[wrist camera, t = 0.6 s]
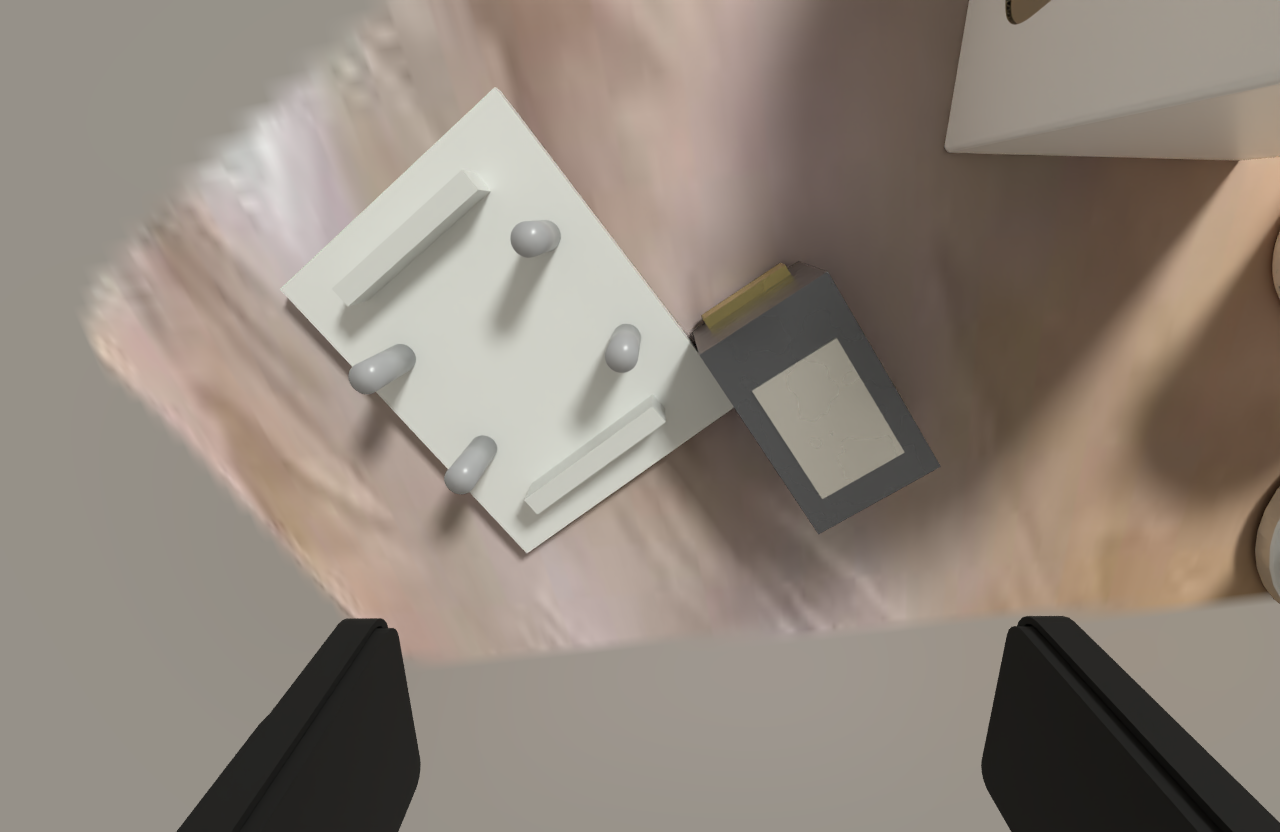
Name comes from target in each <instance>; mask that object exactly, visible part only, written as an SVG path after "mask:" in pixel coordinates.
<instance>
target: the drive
mask: <svg viewBox="0 0 1280 832" xmlns="http://www.w3.org/2000/svg"><path fill="white" fill-rule="evenodd" d="M701 316H702V318H703V320H704V322H705V324H703V325H702V326H700V327H698V328H697V329H695V330H694V331H693V335H694V338H695V342H696V345H697V349H698V352H699V355H700V357H701V358H702V360H703V361H704V363H705V364H706V366H707V367H708V369H709V370H710V372H711V373H712V375H713V376H714V378H715V379H716V381H717V382H718V384H719V385H720V387H721V388H722V390H723V391H724V393H725V394H726V396H727V397H728V399H729V400H730V402H731V403H732V405H733V406H734V408H735V409H736V411H737V412H738V414H739V415H740V417H741V418H742V420H743V421H744V423H745V425H746V426H747V428H748V429H749V431H750V432H751V434H752V435H753V437H754V438H755V440H756V441H757V443H758V444H759V446H760V447H761V449H762V450H763V452H764V453H765V455H766V456H767V458H768V459H769V461H770V462H771V464H772V465H773V467H774V468H775V470H776V471H777V473H778V474H779V476H780V477H781V479H782V480H783V482H784V483H785V485H786V486H787V488H788V489H789V491H790V492H791V494H792V495H793V497H794V498H795V500H796V501H797V503H798V504H799V506H800V507H801V509H802V510H803V512H804V513H805V515H806V516H807V518H808V519H809V521H810V522H811V524H812V525H813V527H814V528H815V530H816V531H817V533H818V534H820V533H822V532H824V531H825V530H827V529H829V528H831V527H833V526H834V525H836V524H838V523H840V522H842V521H843V520H845V519H847V518H849V517H851V516H852V515H854V514H856V513H858V512H860V511H861V510H863V509H865V508H867V507H869V506H870V505H872V504H874V503H876V502H878V501H879V500H881V499H883V498H885V497H887V496H888V495H890V494H892V493H894V492H896V491H897V490H899V489H901V488H903V487H905V486H907V485H908V484H910V483H912V482H914V481H916V480H917V479H919V478H921V477H923V476H925V475H926V474H928V473H930V472H932V471H934V470H935V469H937V468H939V467H941V466H940V464H939V463H938V461H937V459H936V457H935V456H934V454H933V452H932V451H931V449H930V447H929V445H928V444H927V442H926V440H925V439H924V437H923V435H922V433H921V432H920V430H919V428H918V426H917V425H916V423H915V421H914V420H913V418H912V416H911V414H910V413H909V411H908V409H907V407H906V406H905V404H904V402H903V401H902V399H901V397H900V395H899V394H898V392H897V390H896V388H895V387H894V385H893V383H892V382H891V380H890V378H889V376H888V375H887V373H886V371H885V369H884V368H883V366H882V364H881V363H880V361H879V359H878V357H877V356H876V354H875V352H874V351H873V349H872V347H871V345H870V344H869V342H868V340H867V338H866V337H865V335H864V333H863V332H862V330H861V328H860V326H859V325H858V323H857V321H856V319H855V318H854V316H853V314H852V313H851V311H850V309H849V307H848V306H847V304H846V302H845V300H844V299H843V297H842V295H841V294H840V292H839V290H838V288H837V287H836V285H835V283H834V281H833V280H832V278H831V276H830V275H829V273H828V271H825V270H822V269H819V268H816V267H813V266H810V265H807V264H805V263H802V262H799V261H798V262H797V263H795V264H794V265H792V266H791V267H789V268H788V269H787V267H786V265H784V264H782V263H779V264H778V265H776V266H775V267H773V268H772V269H770V270H769V271H767V272H766V273H764V274H763V275H761V276H760V277H758V278H757V279H755V280H754V281H752V282H751V283H749V284H748V285H746V286H745V287H743V288H742V289H740V290H739V291H737V292H736V293H734V294H733V295H731V296H730V297H728V298H727V299H725V300H724V301H722V302H721V303H719V304H718V305H716V306H715V307H713V308H712V309H710V310H709V311H707V312H706V313H704V314H703V315H701Z"/></svg>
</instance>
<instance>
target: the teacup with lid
mask: <svg viewBox="0 0 1280 832" xmlns="http://www.w3.org/2000/svg"><path fill="white" fill-rule="evenodd" d="M1272 274H1273V281H1274V285H1275V289H1276V292H1277V294H1278V297H1279V299H1280V232H1279V234H1278V237H1277V240H1276V244H1275V248H1274V253H1273V261H1272Z"/></svg>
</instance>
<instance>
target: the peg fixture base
mask: <svg viewBox="0 0 1280 832" xmlns="http://www.w3.org/2000/svg"><path fill="white" fill-rule="evenodd" d="M280 290H281V291H282V292H283V293H284V294H285V295H286V296H287V297H288V299H289V300H290V301H291V302H292V303H293V304H294V305H295V306H296V307H297V308H298V309H299V310H300V311H301V312H302V314H303V315H304V316H305V317H306V318H307V319H308V320H309V321H310V322H311V323H312V324H313V325H314V326H315V327H316V328H317V330H318V331H319V332H320V333H321V334H322V335H323V336H324V337H325V338H326V339H327V340H328V341H329V342H330V343H331V345H332V346H333V347H334V348H335V349H336V350H337V351H338V352H339V353H340V354H341V355H342V356H343V357H344V358H345V360H346V361H347V362H348V363H349V364H350V365H351V366H352V368H351V369H350V371H349V381H350V384H351V385H352V387H353V388H354V389H355V390H356V391H358V392H360V393H362V394H372V393H374V392H376V393H377V394H378V395H379V396H380V397H381V398H382V399H383V400H384V401H385V402H386V403H387V404H388V406H389V407H390V408H391V409H392V410H393V411H394V412H395V413H396V414H397V415H398V416H399V417H400V418H401V419H402V420H403V422H404V423H405V424H406V425H407V426H408V427H409V428H410V429H411V430H412V431H413V432H414V433H415V434H416V435H417V437H418V438H419V439H420V440H421V441H422V442H423V443H424V444H425V445H426V446H427V447H428V448H429V449H430V450H431V452H432V453H433V454H434V455H435V456H436V457H437V458H438V459H439V460H440V461H441V462H442V463H443V464H444V465H445V466H446V468H447V469H448V470H447V472H446V473H445V477H444V481H445V484H446V486H447V487H448V489H449V490H451V491H452V492H454V493H456V494H466V493H469V492H470V493H471V494H472V495H473V496H474V498H475V499H476V500H477V501H478V502H479V503H480V504H481V505H482V506H483V507H484V508H485V509H486V510H487V511H488V512H489V514H490V515H491V516H492V517H493V518H494V519H495V520H496V521H497V522H498V523H499V524H500V525H501V526H502V527H503V529H504V530H505V531H506V532H507V533H508V534H509V535H510V536H511V537H512V538H513V539H514V540H515V541H516V542H517V543H518V545H519V546H520V547H521V548H522V549H523V550H524V551H525V552H526V553H528V552H530V551H531V550H533V549H534V548H535V547H537V546H538V545H540V544H541V543H542V542H544V541H545V540H547V539H548V538H550V537H551V536H552V535H554V534H555V533H557V532H558V531H559V530H561V529H562V528H564V527H565V526H567V525H568V524H569V523H571V522H572V521H574V520H575V519H576V518H578V517H579V516H581V515H582V514H584V513H585V512H586V511H588V510H589V509H591V508H592V507H593V506H595V505H596V504H598V503H599V502H601V501H602V500H603V499H605V498H606V497H608V496H609V495H611V494H612V493H613V492H615V491H616V490H618V489H619V488H620V487H622V486H623V485H625V484H626V483H628V482H629V481H630V480H632V479H633V478H635V477H636V476H637V475H639V474H640V473H642V472H643V471H645V470H646V469H647V468H649V467H650V466H652V465H653V464H654V463H656V462H657V461H659V460H660V459H662V458H663V457H664V456H666V455H667V454H669V453H670V452H671V451H673V450H674V449H676V448H677V447H679V446H680V445H681V444H683V443H684V442H686V441H687V440H689V439H690V438H691V437H693V436H694V435H696V434H697V433H698V432H700V431H701V430H703V429H704V428H706V427H707V426H708V425H710V424H711V423H713V422H714V421H715V420H717V419H718V418H720V417H721V416H723V415H724V414H725V413H727V412H728V411H730V410H731V409H732V408H734V406H733V405H732V403H731V402H730V400H729V399H728V397H727V396H726V394H725V393H724V391H723V390H722V388H721V387H720V385H719V384H718V382H717V381H716V379H715V378H714V376H713V375H712V373H711V372H710V370H709V369H708V367H707V366H706V364H705V363H704V361H703V360H702V358H701V357H700V355H699V352H698V349H697V348H696V347H695V345H694V344H693V343H692V341H691V340H690V339H689V338H688V336H687V335H686V334H685V332H684V331H683V330H682V328H681V327H680V326H679V324H678V323H677V322H676V320H675V319H674V318H673V317H672V315H671V314H670V313H669V311H668V310H667V309H666V307H665V306H664V305H663V303H662V302H661V301H660V299H659V298H658V297H657V296H656V294H655V293H654V292H653V290H652V289H651V288H650V286H649V285H648V284H647V282H646V281H645V280H644V278H643V277H642V276H641V274H640V273H639V272H638V271H637V269H636V268H635V267H634V265H633V264H632V263H631V261H630V260H629V259H628V257H627V256H626V255H625V253H624V252H623V251H622V250H621V248H620V247H619V246H618V244H617V243H616V242H615V240H614V239H613V238H612V236H611V235H610V234H609V232H608V231H607V230H606V229H605V227H604V226H603V225H602V223H601V222H600V221H599V219H598V218H597V217H596V215H595V214H594V213H593V211H592V210H591V209H590V207H589V206H588V205H587V204H586V202H585V201H584V200H583V198H582V197H581V196H580V194H579V193H578V192H577V190H576V189H575V188H574V186H573V185H572V184H571V183H570V181H569V180H568V179H567V177H566V176H565V175H564V173H563V172H562V171H561V169H560V168H559V167H558V165H557V164H556V163H555V162H554V160H553V159H552V158H551V156H550V155H549V154H548V152H547V151H546V150H545V148H544V147H543V146H542V144H541V143H540V142H539V140H538V139H537V138H536V137H535V135H534V134H533V133H532V131H531V130H530V129H529V127H528V126H527V125H526V123H525V122H524V121H523V119H522V118H521V117H520V116H519V114H518V113H517V112H516V110H515V109H514V108H513V106H512V105H511V104H510V102H509V101H508V100H507V98H506V97H505V96H504V95H503V93H502V92H501V91H500V90H499V89H497V88H496V87H495V88H493V89H492V90H491V91H490V92H489V93H488V94H487V95H486V96H485V97H484V98H483V99H482V100H481V101H480V102H479V103H477V104H476V105H475V106H474V107H473V108H472V109H471V110H470V111H469V112H468V113H467V114H466V115H465V116H464V117H463V118H462V119H460V120H459V121H458V122H457V123H456V124H455V125H454V126H453V127H452V128H451V129H450V130H449V131H448V132H447V133H446V134H445V135H443V136H442V137H441V138H440V139H439V140H438V141H437V142H436V143H435V144H434V145H433V146H432V147H431V148H430V149H429V150H427V151H426V152H425V153H424V154H423V155H422V156H421V157H420V158H419V159H418V160H417V161H416V162H415V163H414V164H413V165H412V166H410V167H409V168H408V169H407V170H406V171H405V172H404V173H403V174H402V175H401V176H400V177H399V178H398V179H397V180H396V181H395V182H393V183H392V184H391V185H390V186H389V187H388V188H387V189H386V190H385V191H384V192H383V193H382V194H381V195H380V196H379V197H377V198H376V199H375V200H374V201H373V202H372V203H371V204H370V205H369V206H368V207H367V208H366V209H365V210H364V211H363V212H362V213H360V214H359V215H358V216H357V217H356V218H355V219H354V220H353V221H352V222H351V223H350V224H349V225H348V226H347V227H346V228H344V229H343V230H342V231H341V232H340V233H339V234H338V235H337V236H336V237H335V238H334V239H333V240H332V241H331V242H330V243H329V244H327V245H326V246H325V247H324V248H323V249H322V250H321V251H320V252H319V253H318V254H317V255H316V256H315V257H314V258H313V259H312V260H310V261H309V262H308V263H307V264H306V265H305V266H304V267H303V268H302V269H301V270H300V271H299V272H298V273H297V274H296V275H294V276H293V277H292V278H291V279H290V280H289V281H288V282H287V283H286V284H285V285H284V286H283V287H282V288H281V289H280Z"/></svg>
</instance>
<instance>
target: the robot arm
mask: <svg viewBox="0 0 1280 832" xmlns="http://www.w3.org/2000/svg"><path fill="white" fill-rule="evenodd" d="M1255 555H1256V565H1257V570H1258V573H1259V575H1260V578H1261V581H1262V583H1263V585H1264V587H1265V588H1266V589H1267V591H1268V592H1269V593H1270V595H1271V596H1272V597H1273V599H1274V600H1276V601H1277V602H1278V603H1280V486H1279V488H1278V489H1277V490H1276V492H1275V494H1274V495H1273V497H1272V499H1271V500H1270V502H1269V504H1268V506H1267V507H1266V509H1265V511H1264V514H1263V517H1262V520H1261V523H1260V525H1259V528H1258V532H1257V539H1256V547H1255ZM981 766H982V775H983V779H984V782H985V785H986V788H987V790H988V792H989V794H990V795H991V797H992V799H993V800H994V802H995V804H996V806H997V807H998V809H999V811H1000V813H1001V814H1002V816H1003V818H1004V820H1005V821H1006V823H1007V825H1008V827H1009V828H1010V830H1011V832H1280V823H1279V822H1278V821H1277V820H1276V819H1275V818H1274V817H1273V816H1272V815H1271V814H1270V813H1269V812H1268V811H1267V810H1266V809H1265V808H1264V807H1263V806H1262V805H1261V804H1260V803H1259V802H1258V801H1257V800H1256V799H1255V798H1254V797H1253V796H1252V795H1251V794H1250V793H1249V792H1248V791H1247V790H1246V789H1245V788H1244V787H1243V786H1242V785H1241V784H1240V783H1238V782H1237V781H1236V780H1235V779H1234V778H1233V777H1232V776H1231V775H1230V774H1229V773H1228V772H1227V771H1226V770H1225V769H1224V768H1223V767H1222V766H1221V765H1220V764H1219V763H1218V762H1217V761H1216V760H1215V759H1214V758H1213V757H1212V756H1211V755H1210V754H1209V753H1208V752H1207V751H1206V750H1205V749H1204V748H1203V747H1202V746H1201V745H1200V744H1199V743H1197V741H1196V740H1195V739H1194V738H1193V737H1192V736H1191V735H1189V734H1188V733H1187V732H1186V731H1185V730H1184V729H1183V728H1182V727H1181V726H1180V725H1179V724H1178V723H1177V722H1176V721H1175V720H1174V719H1173V718H1172V717H1171V716H1170V715H1169V714H1168V713H1167V712H1166V711H1165V710H1164V709H1163V708H1162V707H1161V706H1160V705H1159V704H1158V703H1157V702H1156V701H1155V700H1154V699H1153V698H1152V697H1151V696H1149V694H1148V693H1147V692H1145V690H1143V689H1142V688H1141V687H1140V686H1139V685H1138V684H1137V683H1136V682H1135V681H1134V680H1133V679H1132V678H1131V677H1130V676H1129V675H1128V674H1127V673H1126V672H1125V671H1124V670H1123V669H1122V668H1121V667H1120V666H1119V665H1118V664H1117V663H1116V662H1115V661H1114V660H1113V659H1112V658H1111V657H1110V656H1109V655H1108V654H1107V653H1106V652H1105V651H1104V650H1103V649H1102V648H1101V647H1099V645H1097V644H1096V643H1095V642H1094V641H1093V640H1092V639H1091V638H1090V637H1089V636H1088V635H1087V634H1086V633H1085V632H1084V631H1083V630H1082V629H1081V628H1080V627H1079V626H1078V625H1077V624H1076V623H1075V622H1074V621H1072V620H1071V619H1070V618H1068V617H1064V616H1026V617H1023V618H1022V619H1021V620H1020V621H1019V622H1018V625H1017V626H1014V627H1011V628H1010V629H1009V631H1008V633H1007V638H1006V642H1005V647H1004V653H1003V657H1002V662H1001V667H1000V672H999V678H998V682H997V688H996V692H995V698H994V702H993V707H992V712H991V717H990V722H989V727H988V733H987V737H986V742H985V747H984V752H983V757H982V765H981ZM419 774H420V756H419V750H418V744H417V739H416V733H415V728H414V721H413V717H412V710H411V705H410V698H409V693H408V688H407V681H406V675H405V670H404V664H403V658H402V653H401V647H400V641H399V636H398V632H397V631H396V629H394V628H388V626H387V623H386V622H385V620H383V619H344V620H342V621H341V622H340V623H339V624H338V625H337V627H336V628H335V629H334V631H333V632H332V633H331V635H330V636H329V637H328V639H327V640H326V641H325V642H324V644H323V645H322V646H321V648H320V649H319V650H318V652H317V653H316V654H315V655H314V657H313V658H312V659H311V661H310V662H309V663H308V665H307V666H306V667H305V669H304V670H303V671H302V672H301V674H300V675H299V676H298V678H297V679H296V680H295V682H294V683H293V684H292V685H291V687H290V688H289V689H288V691H287V692H286V693H285V695H284V696H283V697H282V698H281V700H280V701H279V703H278V704H277V705H276V707H275V708H274V709H273V710H272V712H271V713H270V714H269V715H268V716H267V717H266V718H265V719H264V720H263V721H262V722H261V723H260V724H259V725H258V727H257V728H256V729H255V731H254V732H253V733H252V734H251V736H250V737H249V738H248V740H247V741H246V742H245V744H244V745H243V746H242V748H241V749H240V750H239V752H238V753H237V754H236V755H235V757H234V758H233V759H232V761H231V762H230V763H229V764H228V766H227V767H226V768H225V769H224V771H223V772H222V773H221V775H220V776H219V777H218V779H217V780H216V781H215V783H214V784H213V785H212V787H211V788H210V789H209V790H208V792H207V793H206V794H205V795H204V797H203V798H202V799H201V801H200V802H199V803H198V805H197V806H196V807H195V808H194V810H193V811H192V812H191V814H190V815H189V816H188V817H187V819H186V820H185V821H184V823H183V824H182V825H181V827H180V828H179V829H178V830H177V832H398V831H399V828H400V826H401V824H402V821H403V819H404V816H405V814H406V811H407V809H408V807H409V804H410V802H411V799H412V797H413V794H414V792H415V790H416V787H417V784H418V780H419Z"/></svg>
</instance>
